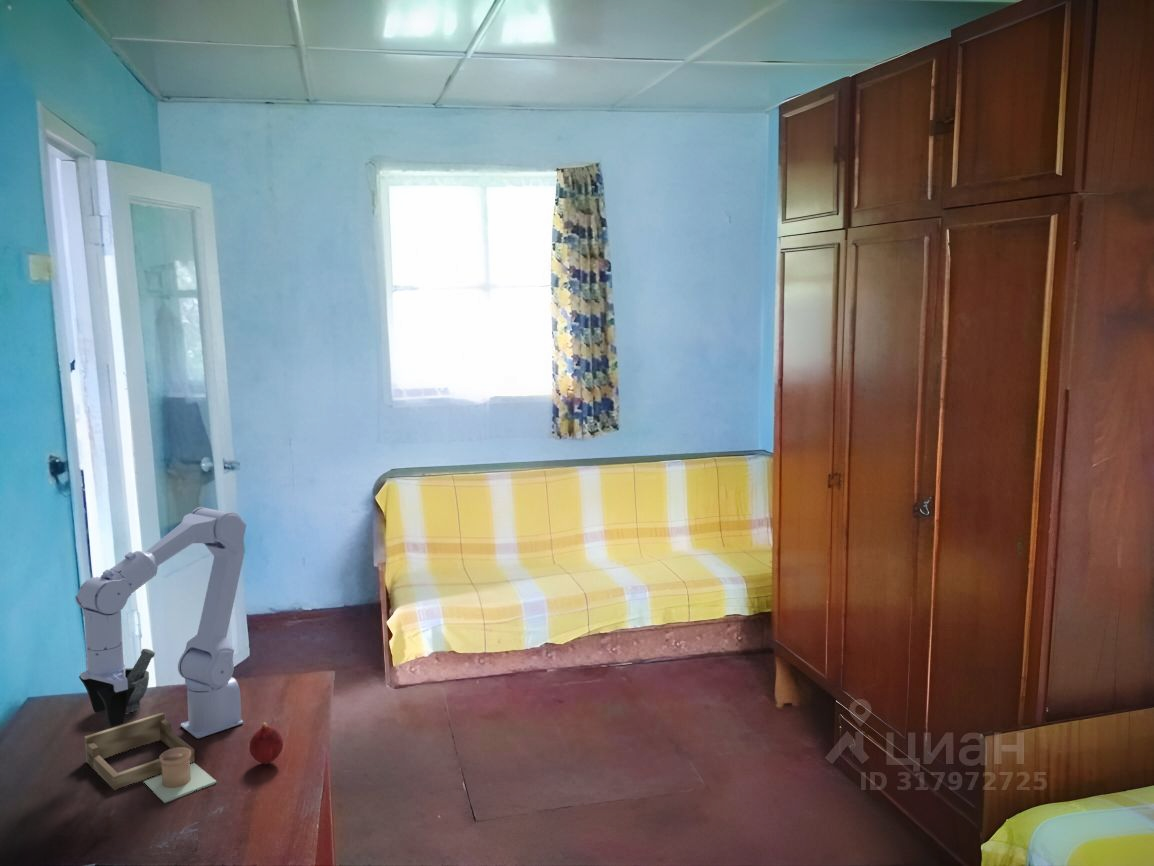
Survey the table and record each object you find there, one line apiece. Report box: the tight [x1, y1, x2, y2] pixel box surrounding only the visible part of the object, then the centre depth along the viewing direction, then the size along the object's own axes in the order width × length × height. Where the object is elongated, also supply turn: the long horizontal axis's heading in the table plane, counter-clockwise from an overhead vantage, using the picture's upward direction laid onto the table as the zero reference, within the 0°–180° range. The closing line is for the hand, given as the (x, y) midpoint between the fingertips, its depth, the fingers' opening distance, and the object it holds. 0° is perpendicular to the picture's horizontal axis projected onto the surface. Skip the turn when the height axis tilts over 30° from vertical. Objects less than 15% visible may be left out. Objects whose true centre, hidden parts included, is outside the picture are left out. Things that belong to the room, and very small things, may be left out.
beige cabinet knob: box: [158, 747, 191, 788], centre depth 155 cm, size 5×5×5 cm
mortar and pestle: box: [125, 648, 156, 714], centre depth 184 cm, size 11×9×12 cm
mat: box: [143, 762, 217, 804], centre depth 155 cm, size 9×9×1 cm
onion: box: [249, 721, 284, 765], centre depth 162 cm, size 6×6×8 cm
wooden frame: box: [84, 712, 196, 791], centre depth 162 cm, size 14×14×5 cm
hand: (108, 717), depth 157 cm, fingers open, 7 cm apart
